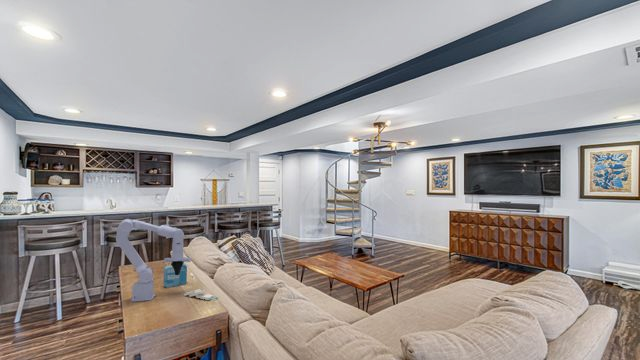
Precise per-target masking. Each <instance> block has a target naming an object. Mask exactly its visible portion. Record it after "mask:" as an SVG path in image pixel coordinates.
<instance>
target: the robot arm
mask: <svg viewBox="0 0 640 360" xmlns="http://www.w3.org/2000/svg"><path fill="white" fill-rule="evenodd" d="M133 229H134V231H137V230H141V229H142V230H145V231H146V230H147V231H151V232H155V233H157V235H158V236H161V237H165V238H169V239H171V238H172V244H171V245H172V246H171V257H165V258H164V259H163V262H164V263H170V264H171V265H172V267H173V269H174V271H175V275H179V274H180V270H181V267H182V265H183V264H185V263H191V262H192V257H185V256H184V245H185V244H184V243H185V242H184V237H185V233H184V231H183V230H182V229H180V228H177V227H173V226H169V225H168V224H162V225H155V224H151V223H148V222H145V221H142V220H137V219H133V220H132V219H130V218H125V219H123V220H122V221H120V223H119V225H118V226H117V228H116V235H115V241H116V243H117V245H118V246H119V248H120V249H121V251H122V252H123V253H124V255H125V256H126V258H127V259H128V260H129V262H130V263H131V264H132V266H133V268H134V269H135V271H136V273H137V275H138V279H139V280H138V281H136V282H133V285H132V289H131V302H133V303H134V302H143V301H144V302H145V301H152V300H154V298H155V296H156V294H155V293H154V287H155V286H154V284H155V283H154V270H153V269H152V267H150V266H148V265H147V264H146V263H145V262H144V261H145V260H143V259H142V257H141V256H140V255H139V253H138V251H137V250H136V248H135V247H134V246H133V244H132V242H131V241H130V240H129V236H130V233H131V232H132V231H133ZM171 265H170V266H171Z"/></svg>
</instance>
